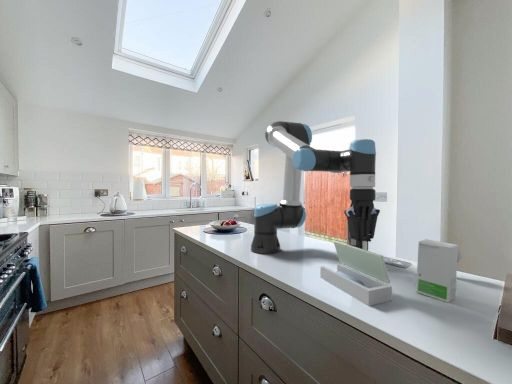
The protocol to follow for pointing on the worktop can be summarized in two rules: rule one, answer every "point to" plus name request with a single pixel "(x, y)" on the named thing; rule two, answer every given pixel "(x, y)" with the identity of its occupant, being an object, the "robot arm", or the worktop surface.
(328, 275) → the white u-shaped channel
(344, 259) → the cover
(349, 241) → the coffee box
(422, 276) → the skincare box
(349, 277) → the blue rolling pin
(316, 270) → the worktop surface
